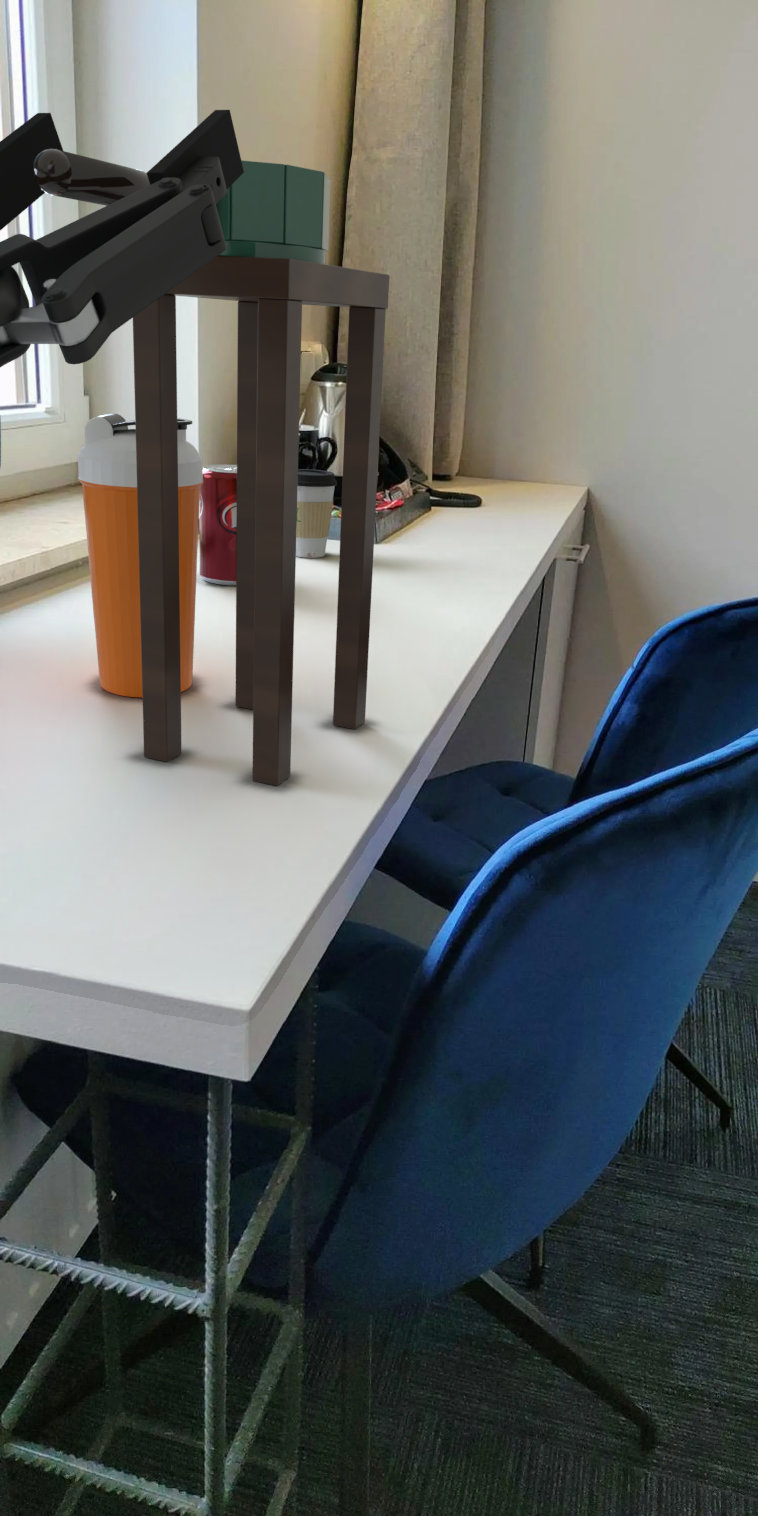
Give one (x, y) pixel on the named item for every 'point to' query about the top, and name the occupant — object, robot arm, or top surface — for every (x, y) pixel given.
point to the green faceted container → (255, 213)
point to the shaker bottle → (132, 548)
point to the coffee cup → (313, 511)
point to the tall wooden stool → (259, 493)
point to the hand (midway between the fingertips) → (139, 141)
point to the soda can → (218, 524)
